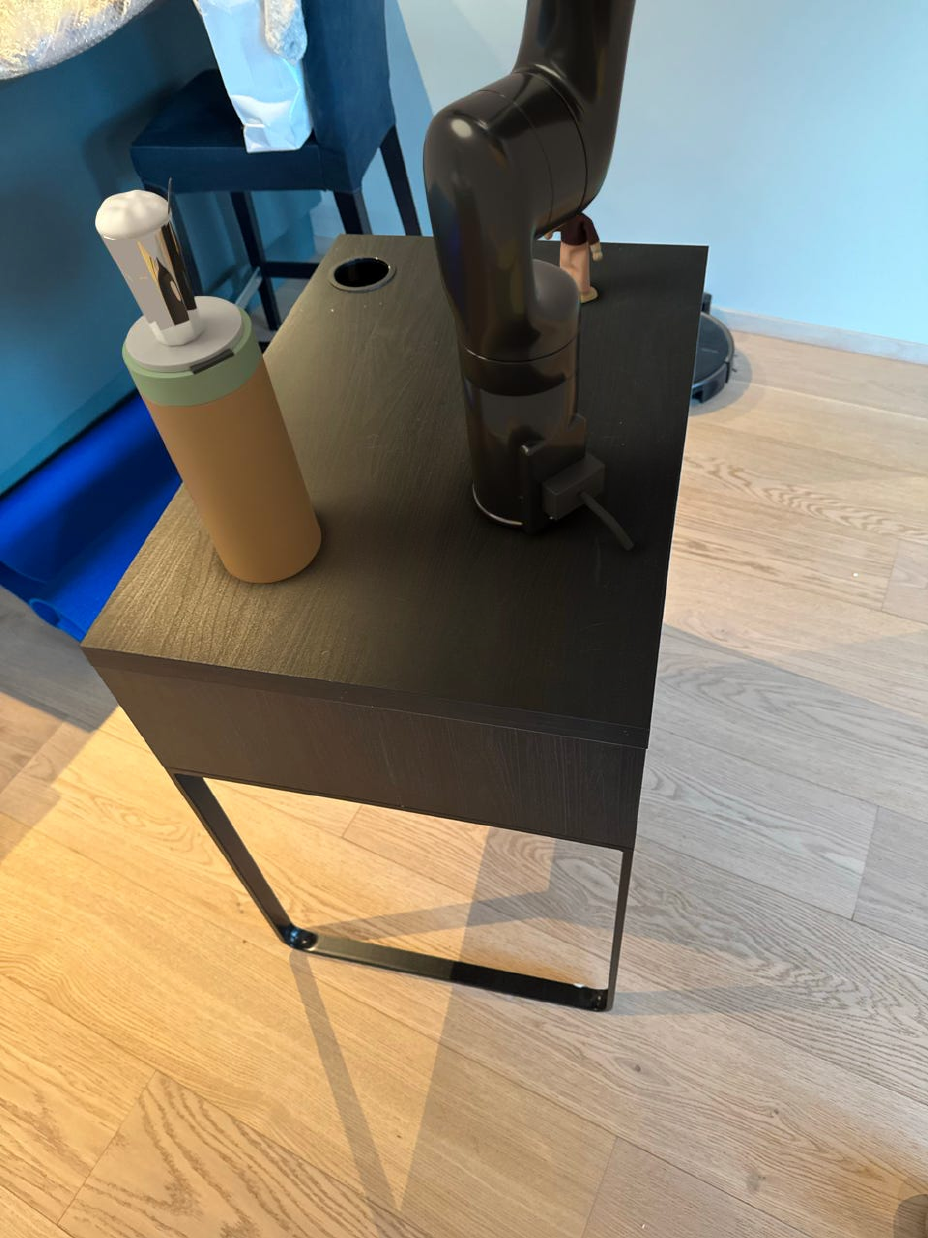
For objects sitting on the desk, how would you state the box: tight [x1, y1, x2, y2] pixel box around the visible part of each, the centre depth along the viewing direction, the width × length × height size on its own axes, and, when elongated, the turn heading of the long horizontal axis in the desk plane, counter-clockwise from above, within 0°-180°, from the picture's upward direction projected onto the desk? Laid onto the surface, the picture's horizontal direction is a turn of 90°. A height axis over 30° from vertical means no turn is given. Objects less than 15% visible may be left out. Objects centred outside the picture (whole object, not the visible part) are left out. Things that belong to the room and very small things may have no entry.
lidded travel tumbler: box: [121, 295, 322, 584], centre depth 66 cm, size 9×9×22 cm
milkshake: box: [94, 177, 204, 346], centre depth 53 cm, size 4×5×10 cm
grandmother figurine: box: [543, 212, 604, 304], centre depth 89 cm, size 8×4×13 cm, turn 58°
